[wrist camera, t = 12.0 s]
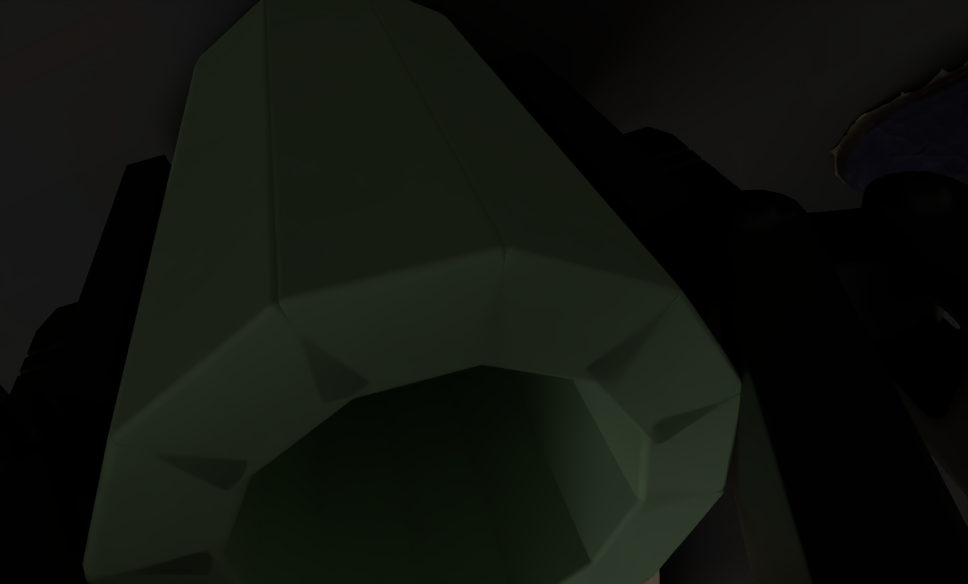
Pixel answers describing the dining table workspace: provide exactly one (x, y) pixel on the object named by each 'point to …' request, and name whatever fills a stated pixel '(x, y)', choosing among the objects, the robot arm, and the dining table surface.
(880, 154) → the flask
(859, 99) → the dining table surface
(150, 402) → the sleeve
